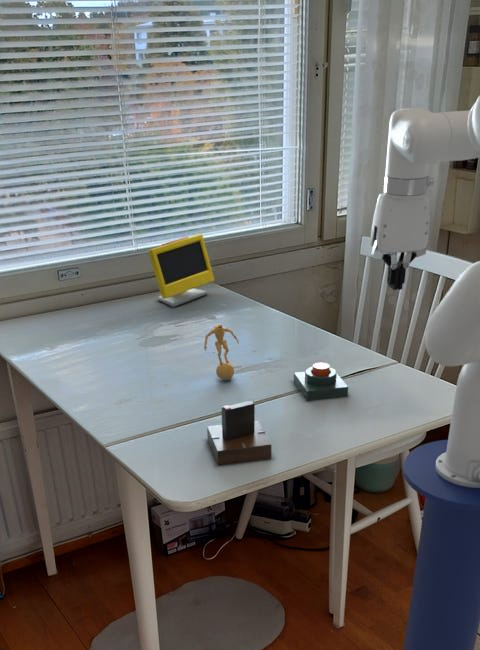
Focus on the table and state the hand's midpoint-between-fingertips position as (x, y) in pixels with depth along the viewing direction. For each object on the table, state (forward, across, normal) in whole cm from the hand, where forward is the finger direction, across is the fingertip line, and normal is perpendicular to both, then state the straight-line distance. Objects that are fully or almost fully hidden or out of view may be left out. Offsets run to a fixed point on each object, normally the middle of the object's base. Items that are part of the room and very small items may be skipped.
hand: (395, 287), depth 152 cm
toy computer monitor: (+23, +31, -75) cm, 84 cm away
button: (+19, +12, -7) cm, 24 cm away
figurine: (+23, +31, -18) cm, 43 cm away
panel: (+23, +35, +15) cm, 44 cm away
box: (+23, +12, -7) cm, 27 cm away
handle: (+20, +35, +15) cm, 43 cm away
